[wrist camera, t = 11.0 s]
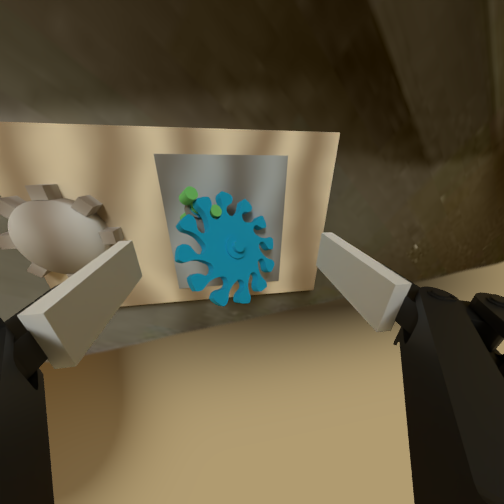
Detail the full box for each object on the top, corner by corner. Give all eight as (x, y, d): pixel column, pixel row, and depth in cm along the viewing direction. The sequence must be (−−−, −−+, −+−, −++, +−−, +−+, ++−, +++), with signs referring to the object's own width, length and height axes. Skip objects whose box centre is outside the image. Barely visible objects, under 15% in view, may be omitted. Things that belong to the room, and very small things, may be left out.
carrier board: (331, 135, 19) (349, 129, 16) (308, 283, 26) (318, 296, 24) (-25, 124, 15) (-80, 114, 12) (67, 303, 22) (45, 322, 20)
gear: (292, 257, 20) (237, 335, 14) (255, 263, 25) (202, 324, 19) (235, 161, 17) (133, 210, 11) (205, 188, 21) (121, 233, 15)
